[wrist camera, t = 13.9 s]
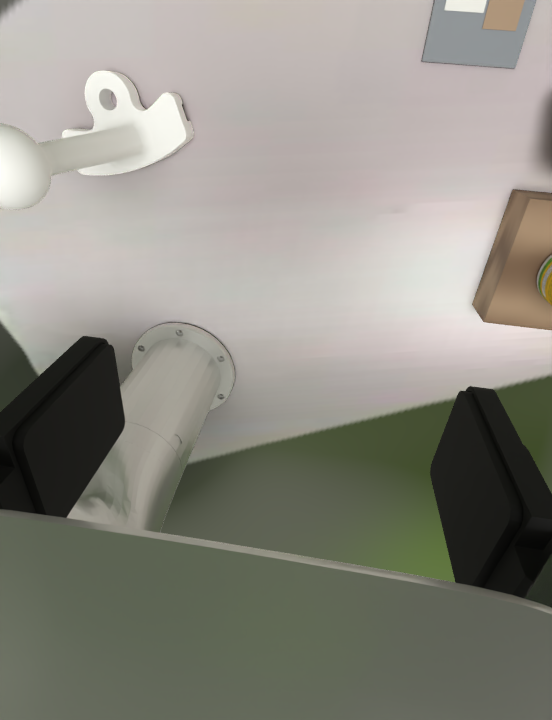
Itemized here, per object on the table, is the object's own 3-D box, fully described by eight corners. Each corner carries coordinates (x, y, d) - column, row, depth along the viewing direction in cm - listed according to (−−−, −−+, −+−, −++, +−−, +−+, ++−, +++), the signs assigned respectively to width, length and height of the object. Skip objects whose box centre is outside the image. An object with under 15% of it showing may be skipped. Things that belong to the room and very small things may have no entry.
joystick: (96, 182, 41) (-73, 241, 24) (55, 94, 37) (-177, 92, 21) (199, 148, 38) (88, 189, 21) (166, 50, 35) (1, 5, 18)
